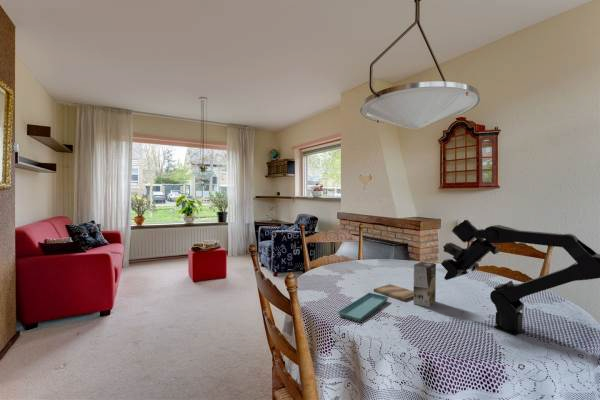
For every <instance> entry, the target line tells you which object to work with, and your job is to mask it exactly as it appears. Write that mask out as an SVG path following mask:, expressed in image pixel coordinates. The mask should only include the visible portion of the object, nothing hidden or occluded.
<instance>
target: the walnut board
mask: <svg viewBox="0 0 600 400" xmlns="http://www.w3.org/2000/svg"><path fill="white" fill-rule="evenodd" d="M373 293H376V294H379V295H382V296H387V297H389V298H391V299H395V300H398V301H402V302H407V301H410V300H414V290H411V289H408V288H404V287H401V286H397V285H394V284H391V283H390V284H386V285H381V286H380V287H376V288H373Z"/></svg>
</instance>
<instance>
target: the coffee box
mask: <svg viewBox="0 0 600 400" xmlns="http://www.w3.org/2000/svg"><path fill="white" fill-rule="evenodd" d="M436 272H437V263H434V262H430V261H429V262H427V261H420V262H417V263H416V264H413V291H414V298H413V299H412V300H413V305H416V306H420V307H426V308H429V307H431V306H432V305H433V304H434V303H435V302H436V295H437V294H436V286H437V285H436V283H437V281H436V279H437V275H436V274H437V273H436Z"/></svg>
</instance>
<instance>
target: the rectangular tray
mask: <svg viewBox="0 0 600 400" xmlns="http://www.w3.org/2000/svg"><path fill="white" fill-rule="evenodd" d="M389 298H390V297H389V296H386V295H383V294H379V293H374V292H373V293H372V292H367V293H366V294H365V295H363V296H361V297H360V298H358V299H357V300H354V301H353V302H351V303H350V304H348V305H346V306H345V307H343V308H341V309H339V310H338V311H337V313H338V315H339V316H340V317H341V318H344V317H345V318H344V319H348V320H351V319H352V320H351V321H354V320H355V322H358V321H359V322H361V321H362V320H364V319H365V318H367V317H368V316H370V314H372V313H374V312H375V311H376V310H378V309H379V308H380V307H382V306H383V305H385V303H387V301H388V299H389Z"/></svg>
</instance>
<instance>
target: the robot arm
mask: <svg viewBox="0 0 600 400" xmlns="http://www.w3.org/2000/svg"><path fill="white" fill-rule="evenodd" d="M451 232H452V234H453V235H455V236H456V237H457V238H458V239H459V240H460V241H461V242H462V243H464V244H465V243H468V244H469V245H468V246H467V247H466V248H463V247H461V246H460V245H457V244H455V243H453V242H447V243H445V245H443V247H442V248H443V252H444V253H447V254H449V255H451V256H453V257H452V259H451V258H447V259H444V260H443V261H442V262H441V263H440V265H441V266H442V267H443V269H445V270H446V273H445V275H444V277H443V278H444V281H448V280H451V279H454V278H457V277H461V276H464V275H467V274H469V272H468V271H469V270H470V271H471V272H475V271H477V270H478V269H479V268H480V267H479V266H480V264H479V262H481V261H482V260H483V258H485V256H486V255H488V254H489V253H490V252H491V254H492V255H496V254H499V252H500V251H499V249H498V248H499V245H494V244H506V243H509V244H510V243H520V244H531V245H538V246H546V247H547V246H549V247H556V248H563V250H565V252H567V253H568V254H569V255H570V257H571V258H572V259H573V260H574V261H575V262H574V263H573V264H571V265H569V266H567V267H565V268H562V269H558V270H556V271H553V272H551V273H548V274H545V275H542V276H538V277H536V278H533V279H531V280H527V281H524V282H522V283H513V282H514V281H513V280H510V281H508V282H506V283H500V284H498V285H497V286H495V287H493V289H494V290H492V291H491V292H490V294H489V297H490V298H489V299H490V301H491V302H492V304H493V305H494V306H495V309H496V312H495V325H494V326H493V328H495V329H498V330H500V331H502V332H505V333H507V334H510V335H513V336H517V335H520V334H522V333H524V332H526V329H525V328H523V327H524V326H523V325H524V324H523V321H524V319H523V318H524V317H523V316H524V315H523V312H521V311H522V310H524V307H525V304H524V303H523V302H522V301H521V299H523V298H524V297H527V296H530V295H534V294H536V293H539V292H543V291H546V290H549V289H550V290H551V289H552V288H555V287H559V286H562V285H565V284H568V283H572V282H577V281H579V282H580V281H590V280H595V279H600V254H599V253H597V252H596V251H595V250H594V249H592V248H591V247H590V246H588V245H587V244H586V243H584V242H583V241H582V240H580V239H579V238H578V237H577V236H576V235H574V234H572V233H557V232H556V233H555V232H541V231H534V230H533V231H531V230H520V229H517V228H512V227H509V226H505V225H501V224H495V225H490V226H487V227H486V228H484V229H483V228H481V229H480V228H479V229H478V228H477V227H476V226H474V225H473V224H472V222H470V221H469V219H464V220H463V221H462V222H460V223H459V224H457V225H455V226H454V227H453V228H452V231H451Z"/></svg>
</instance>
